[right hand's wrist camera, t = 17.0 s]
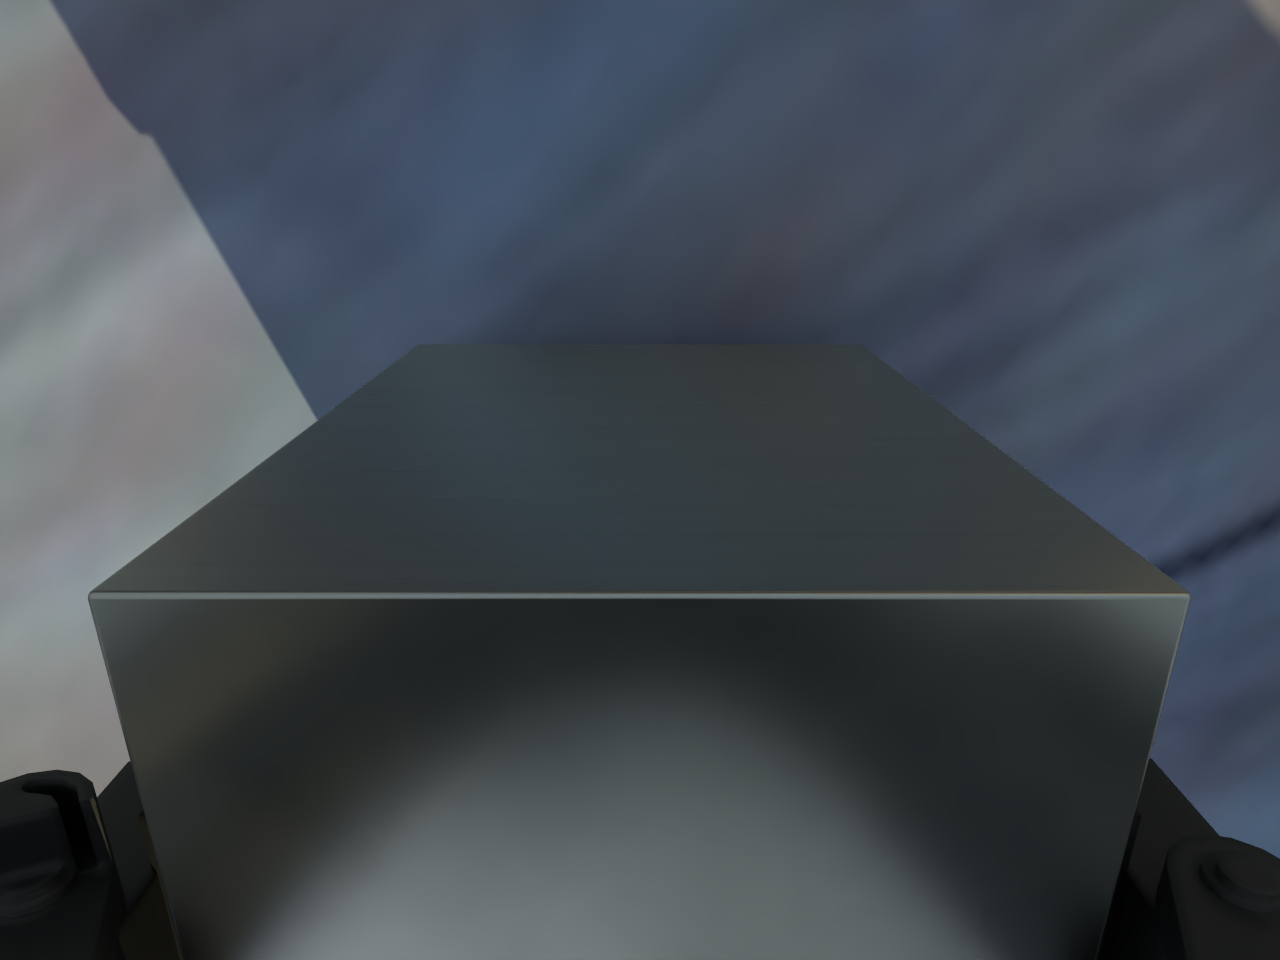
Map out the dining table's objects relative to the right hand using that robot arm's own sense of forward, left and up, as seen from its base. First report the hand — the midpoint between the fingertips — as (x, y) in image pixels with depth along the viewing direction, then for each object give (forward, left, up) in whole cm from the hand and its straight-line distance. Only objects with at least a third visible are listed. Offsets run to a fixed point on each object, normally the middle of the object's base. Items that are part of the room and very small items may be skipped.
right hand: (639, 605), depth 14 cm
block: (0, 0, -2) cm, 2 cm away
